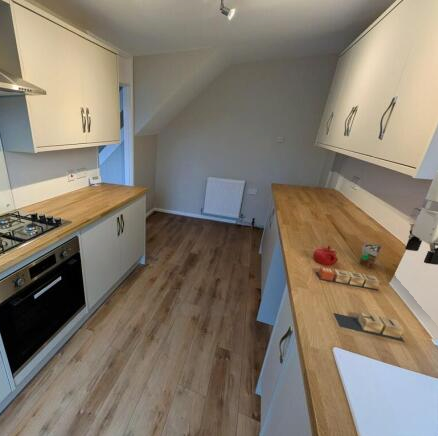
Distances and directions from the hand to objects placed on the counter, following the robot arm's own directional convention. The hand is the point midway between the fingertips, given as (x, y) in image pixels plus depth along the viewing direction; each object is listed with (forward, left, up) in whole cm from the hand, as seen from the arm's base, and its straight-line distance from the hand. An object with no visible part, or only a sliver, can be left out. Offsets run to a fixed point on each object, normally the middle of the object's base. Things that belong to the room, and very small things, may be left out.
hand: (420, 256), depth 78 cm
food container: (-5, -39, -24) cm, 46 cm away
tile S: (+17, -17, -23) cm, 33 cm away
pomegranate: (+14, -33, -24) cm, 43 cm away
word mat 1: (+10, -17, -24) cm, 30 cm away
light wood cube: (+2, -17, -23) cm, 28 cm away
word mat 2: (+13, +12, -24) cm, 29 cm away
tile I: (+7, +12, -23) cm, 27 cm away
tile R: (+12, -17, -23) cm, 31 cm away
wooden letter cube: (+7, -17, -23) cm, 29 cm away
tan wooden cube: (+12, +12, -23) cm, 29 cm away
